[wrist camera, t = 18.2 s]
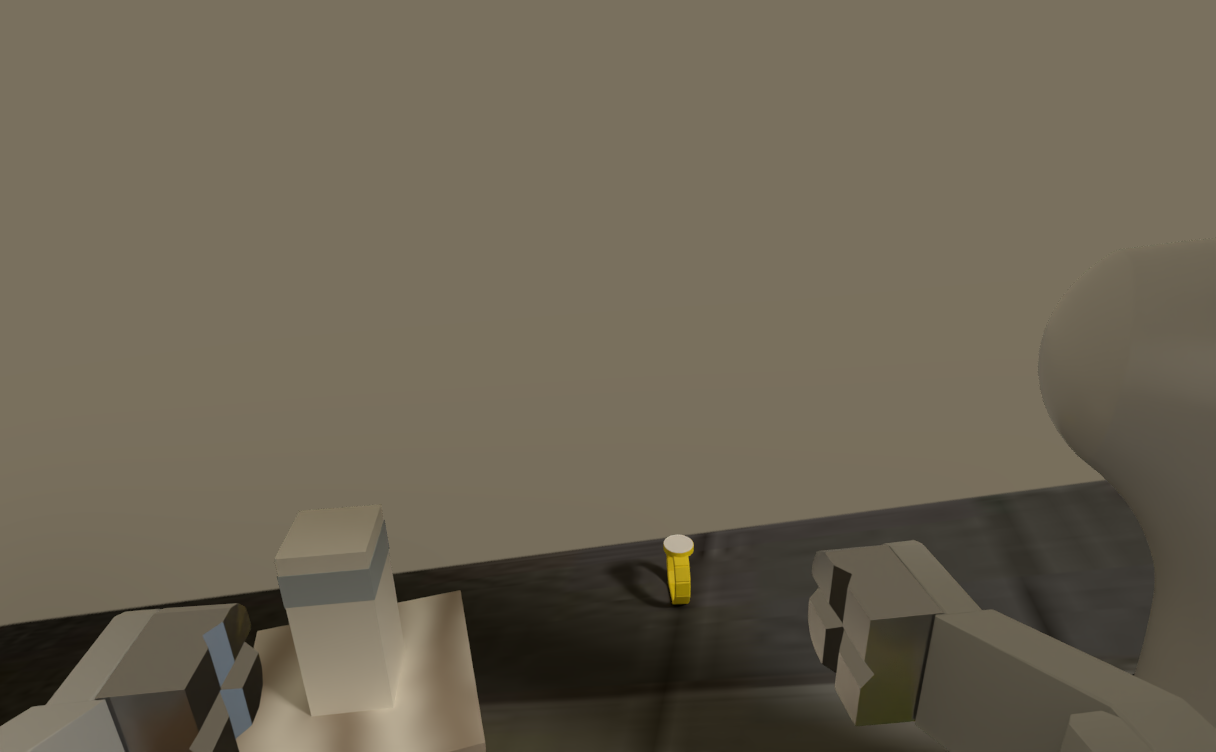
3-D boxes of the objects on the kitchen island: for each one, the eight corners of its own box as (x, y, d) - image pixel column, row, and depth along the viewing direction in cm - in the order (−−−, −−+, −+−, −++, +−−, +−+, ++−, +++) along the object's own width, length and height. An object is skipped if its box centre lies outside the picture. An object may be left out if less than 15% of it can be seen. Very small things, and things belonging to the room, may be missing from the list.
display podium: (466, 639, 63) (460, 590, 61) (491, 800, 49) (485, 742, 47) (270, 682, 59) (257, 631, 57) (236, 872, 44) (216, 811, 42)
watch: (696, 615, 66) (699, 565, 63) (666, 617, 65) (668, 567, 63) (686, 571, 71) (688, 523, 68) (658, 572, 71) (659, 524, 68)
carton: (405, 649, 54) (382, 503, 50) (394, 708, 49) (366, 552, 44) (330, 656, 54) (298, 510, 49) (310, 717, 49) (272, 559, 44)
